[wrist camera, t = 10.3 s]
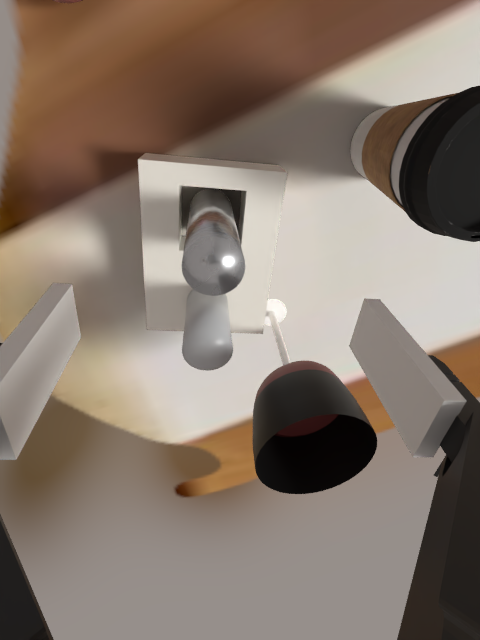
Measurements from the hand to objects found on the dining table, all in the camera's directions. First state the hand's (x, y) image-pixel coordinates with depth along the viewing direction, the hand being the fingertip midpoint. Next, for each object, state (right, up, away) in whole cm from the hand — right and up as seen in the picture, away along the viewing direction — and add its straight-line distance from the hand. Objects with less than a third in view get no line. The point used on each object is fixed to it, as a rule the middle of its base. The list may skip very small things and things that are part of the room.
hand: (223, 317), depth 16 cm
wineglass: (+4, +1, +25) cm, 25 cm away
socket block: (-2, +8, +20) cm, 21 cm away
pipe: (-2, +11, +18) cm, 21 cm away
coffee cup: (+14, +16, +16) cm, 27 cm away
